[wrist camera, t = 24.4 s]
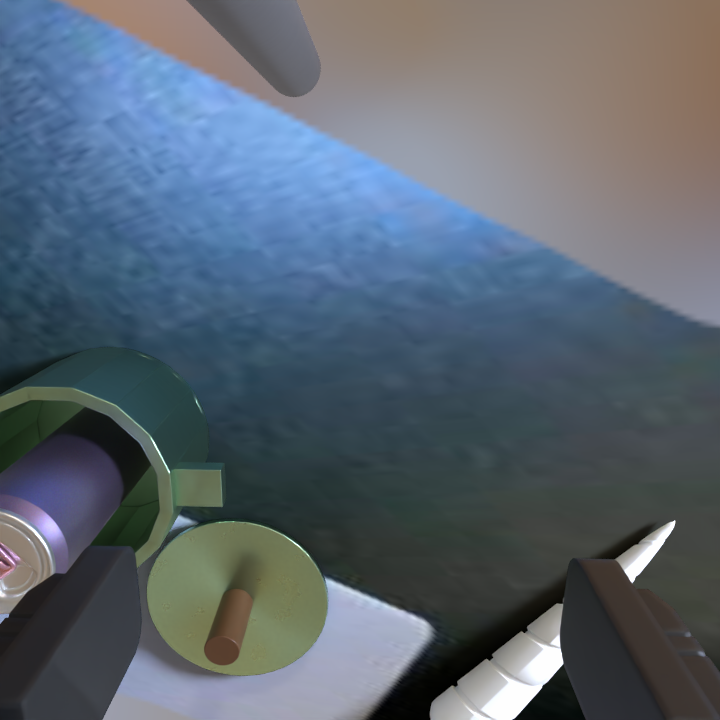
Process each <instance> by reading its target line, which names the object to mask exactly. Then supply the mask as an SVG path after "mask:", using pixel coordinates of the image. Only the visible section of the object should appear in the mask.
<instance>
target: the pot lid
mask: <svg viewBox="0 0 720 720" xmlns="http://www.w3.org/2000/svg"><path fill="white" fill-rule="evenodd" d="M147 603H148V609H149V612H150V615H151V619H152V621H153V623H154V625H155V627H156V629H157V630H158V632H159V633H160V635H161V636H162V638H163V639H164V640H165V641H166V643H167V644H168V645H169V646H170V647H171V648H172V649H173V650H175V651H176V652H177V653H178V654H179V655H181V656H182V657H184V658H185V659H186V660H188V661H190V662H192V663H194V664H195V665H197V666H200V667H202V668H205V669H207V670H210V671H214V672H217V673H222V674H227V675H237V676H250V675H259V674H265V673H268V672H272V671H275V670H278V669H281V668H283V667H285V666H287V665H289V664H291V663H293V662H294V661H296V660H297V659H299V658H300V657H301V656H303V655H304V654H305V653H306V652H307V651H308V650H309V649H310V648H311V647H312V645H313V644H314V643H315V642H316V640H317V639H318V637H319V635H320V634H321V631H322V629H323V627H324V624H325V621H326V616H327V610H328V590H327V586H326V581H325V578H324V576H323V573H322V571H321V569H320V567H319V565H318V563H317V562H316V560H315V559H314V558H313V556H312V555H311V554H310V552H309V551H308V550H307V549H306V548H305V547H304V546H303V545H302V544H301V543H300V542H298V541H297V540H296V539H294V538H293V537H292V536H290V535H289V534H287V533H285V532H284V531H282V530H280V529H278V528H276V527H273V526H271V525H268V524H265V523H262V522H259V521H254V520H249V519H238V518H227V519H217V520H211V521H207V522H204V523H200V524H198V525H195V526H193V527H191V528H188V529H187V530H185V531H183V532H182V533H180V534H178V535H177V536H176V537H175V538H173V539H172V540H171V541H170V542H169V543H168V544H167V545H166V546H165V547H164V548H163V550H162V551H161V552H160V554H159V555H158V557H157V559H156V560H155V562H154V564H153V566H152V569H151V571H150V575H149V578H148V583H147Z"/></svg>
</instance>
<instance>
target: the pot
mask: <svg viewBox="0 0 720 720" xmlns="http://www.w3.org/2000/svg"><path fill="white" fill-rule="evenodd" d="M84 407H87V408H90V409H92V410H95V411H97V412H100V413H103V414H105V415H108V416H109V417H111V418H112V419H113V420H114V421H115V422H116V423H117V424H118V425H120V426H121V427H122V428H123V429H124V430H125V431H126V432H128V433H129V434H130V435H131V436H132V437H133V438H134V439H136V440H137V441H138V442H139V443H140V444H141V446H142V448H143V450H144V452H145V454H146V456H147V458H148V459H149V461H150V463H151V466H150V467H149V469H148V470H147V471H146V473H145V474H144V475H143V476H142V478H141V479H140V480H139V482H138V483H137V484H136V486H135V487H134V488H133V489H132V491H131V492H130V493H129V495H128V496H127V497H126V498H125V500H124V501H123V502H122V504H121V505H120V506H119V508H118V509H117V510H116V511H115V513H114V514H113V515H112V517H111V518H110V519H109V520H108V522H107V523H106V524H105V526H104V527H103V528H102V530H101V531H100V532H99V533H98V535H97V536H96V537H95V539H94V540H93V541H92V542H91V544H90V545H89V546H129V547H132V548H133V550H134V552H135V556H136V565H137V568H138V567H139V566H140V565H141V564H142V563H144V562H145V561H146V560H147V559H148V558H149V557H150V556H151V555H152V554H153V553H154V552H155V551H157V550H158V549H159V548H160V546H161V545H162V543H163V541H164V539H165V538H166V536H167V534H168V532H169V531H170V529H171V527H172V526H173V524H174V522H175V520H176V519H177V517H178V515H179V513H180V512H181V510H182V508H183V506H205V507H223V505H224V502H225V500H226V483H225V464H224V463H205V462H206V459H207V456H208V449H209V430H208V424H207V420H206V416H205V413H204V410H203V408H202V406H201V403H200V401H199V400H198V398H197V396H196V394H195V393H194V391H193V390H192V389H191V387H190V386H189V385H188V383H187V382H186V381H185V380H184V379H183V378H182V377H181V376H180V375H179V374H178V373H177V372H175V371H174V370H173V369H172V368H170V367H169V366H167V365H166V364H164V363H163V362H161V361H160V360H158V359H156V358H154V357H151V356H149V355H147V354H144V353H141V352H138V351H135V350H130V349H126V348H116V347H102V348H95V349H88V350H85V351H82V352H79V353H76V354H74V355H72V356H70V357H68V358H65V359H63V360H60V361H58V362H56V363H54V364H52V365H51V366H49V367H47V368H45V369H44V370H42V371H40V372H38V373H37V374H35V375H33V376H31V377H30V378H28V379H26V380H24V381H23V382H21V383H19V384H17V385H16V386H14V387H12V388H11V389H9V390H7V391H5V392H4V393H2V394H0V474H1V473H2V472H3V471H4V470H6V469H7V468H8V467H9V466H11V465H12V464H13V463H15V462H16V461H17V460H18V459H20V458H21V457H22V456H23V455H25V454H26V453H27V452H28V451H30V450H31V449H32V448H34V447H35V446H36V445H37V444H39V443H40V442H41V441H42V440H44V439H45V438H46V437H48V436H49V435H50V434H51V433H53V432H54V431H55V430H56V429H58V428H59V427H60V426H62V425H63V424H64V423H65V422H67V421H68V420H69V419H70V418H72V417H73V416H74V415H75V414H77V413H78V412H79V411H81V410H82V409H83V408H84Z"/></svg>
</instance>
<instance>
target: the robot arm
mask: <svg viewBox="0 0 720 720" xmlns="http://www.w3.org/2000/svg"><path fill="white" fill-rule="evenodd" d="M141 624H142V617H141V606H140V596H139V585H138V575H137V565H136V556H135V552H134V550H133V548H132V547H129V546H88V547H86V548H85V549H84V550H83V552H82V553H81V554H80V556H79V557H78V558H77V559H76V561H75V562H74V563H73V565H72V566H71V567H70V568H69V570H68V571H67V572H66V573H54V574H53V575H51V576H50V577H48V578H47V579H45V580H44V581H42V582H41V583H40V584H38V585H37V586H35V587H34V588H32V589H31V590H29V591H28V592H27V593H26V594H25V595H24V596H23V598H22V599H21V600H20V601H19V602H18V604H17V605H16V606H15V607H14V608H13V610H12V611H11V612H10V613H9V617H8V618H5V619H4V620H3V622H2V623H1V624H0V720H102V719H103V717H104V715H105V713H106V711H107V709H108V707H109V705H110V703H111V701H112V699H113V697H114V695H115V693H116V691H117V689H118V687H119V685H120V683H121V681H122V679H123V677H124V675H125V673H126V671H127V669H128V667H129V665H130V663H131V661H132V659H133V657H134V655H135V653H136V650H137V647H138V643H139V639H140V634H141ZM560 647H561V654H562V659H563V663H564V666H565V669H566V671H567V674H568V676H569V679H570V681H571V684H572V686H573V689H574V691H575V694H576V696H577V699H578V701H579V704H580V706H581V709H582V711H583V714H584V716H585V718H586V720H720V672H719V671H718V669H717V668H716V667H715V665H714V664H713V662H712V661H711V660H710V658H709V657H706V656H705V651H704V650H703V648H702V647H701V646H700V644H699V643H698V641H697V640H696V639H695V637H692V636H691V632H690V630H689V629H688V628H687V626H686V625H685V623H684V622H683V621H682V619H681V618H680V616H679V615H678V614H677V612H676V611H675V609H674V608H672V607H671V606H670V605H668V604H667V603H666V602H664V601H663V600H662V599H661V598H659V597H658V596H657V595H655V594H654V593H653V592H651V591H650V590H649V589H636V588H635V587H634V585H633V584H632V582H631V581H630V579H629V578H628V576H627V575H626V573H625V572H624V570H623V568H622V567H621V565H620V564H619V563H618V562H617V561H616V560H614V559H578V558H573V559H572V560H571V561H570V563H569V566H568V571H567V579H566V587H565V594H564V602H563V610H562V617H561V625H560Z"/></svg>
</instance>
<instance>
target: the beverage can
mask: <svg viewBox="0 0 720 720" xmlns="http://www.w3.org/2000/svg"><path fill="white" fill-rule="evenodd" d="M150 466H151V463H150V461H149V459H148V458H147V456H146V454H145V452H144V450H143V448H142V446H141V444H140V443H139V442H138V441H137V440H136V439H134V438H133V437H132V436H131V435H130V434H129V433H128V432H126V431H125V430H124V429H123V428H122V427H121V426H120V425H118V424H117V423H116V422H115V421H114V420H113V419H112V418H111V417H109V416H108V415H105V414H103V413H100V412H97V411H95V410H92V409H90V408H87V407H84V408H83V409H82V410H81V411H79V412H78V413H77V414H75V415H74V416H73V417H72V418H70V419H69V420H68V421H67V422H65V423H64V424H63V425H62V426H60V427H59V428H58V429H56V430H55V431H54V432H53V433H51V434H50V435H49V436H48V437H46V438H45V439H44V440H42V441H41V442H40V443H39V444H37V445H36V446H35V447H34V448H32V449H31V450H30V451H28V452H27V453H26V454H25V455H23V456H22V457H21V458H20V459H18V460H17V461H16V462H15V463H13V464H12V465H11V466H9V467H8V468H7V469H6V470H4V471H3V472H2V473H1V474H0V614H9V613H10V612H11V611H12V610H13V608H14V607H15V606H16V605H17V604H18V602H19V601H20V600H21V599H22V598H23V596H24V595H25V594H26V593H27V592H28V591H29V590H31V589H32V588H34V587H35V586H37V585H38V584H40V583H41V582H42V581H44V580H45V579H47V578H48V577H50V576H51V575H53V574H54V573H66V572H67V571H68V570H69V568H70V567H71V566H72V565H73V563H74V562H75V561H76V559H77V558H78V557H79V556H80V554H81V553H82V552H83V550H84V549H85V548H86V547H88V546H89V545H90V544H91V542H92V541H93V540H94V539H95V537H96V536H97V535H98V533H99V532H100V531H101V530H102V528H103V527H104V526H105V524H106V523H107V522H108V520H109V519H110V518H111V517H112V515H113V514H114V513H115V511H116V510H117V509H118V508H119V506H120V505H121V504H122V502H123V501H124V500H125V498H126V497H127V496H128V495H129V493H130V492H131V491H132V489H133V488H134V487H135V486H136V484H137V483H138V482H139V480H140V479H141V478H142V476H143V475H144V474H145V473H146V471H147V470H148V469H149V467H150Z"/></svg>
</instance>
